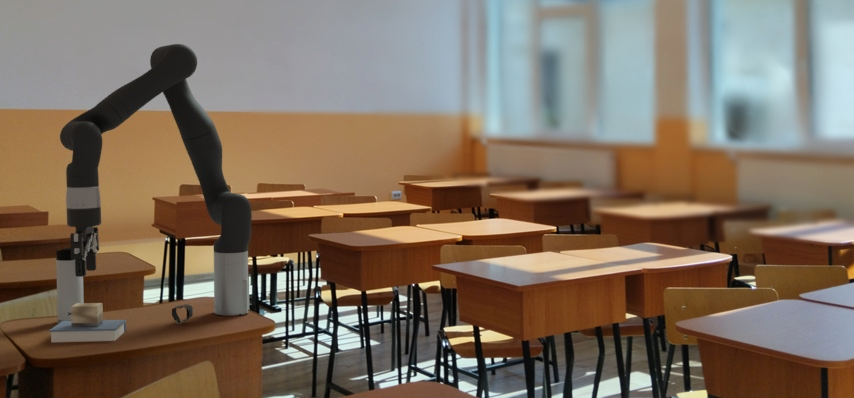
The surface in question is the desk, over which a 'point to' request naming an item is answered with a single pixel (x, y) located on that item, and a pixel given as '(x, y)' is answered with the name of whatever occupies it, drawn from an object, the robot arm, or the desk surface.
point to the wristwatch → (189, 313)
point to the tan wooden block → (87, 314)
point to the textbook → (88, 332)
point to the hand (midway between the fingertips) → (86, 273)
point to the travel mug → (67, 285)
